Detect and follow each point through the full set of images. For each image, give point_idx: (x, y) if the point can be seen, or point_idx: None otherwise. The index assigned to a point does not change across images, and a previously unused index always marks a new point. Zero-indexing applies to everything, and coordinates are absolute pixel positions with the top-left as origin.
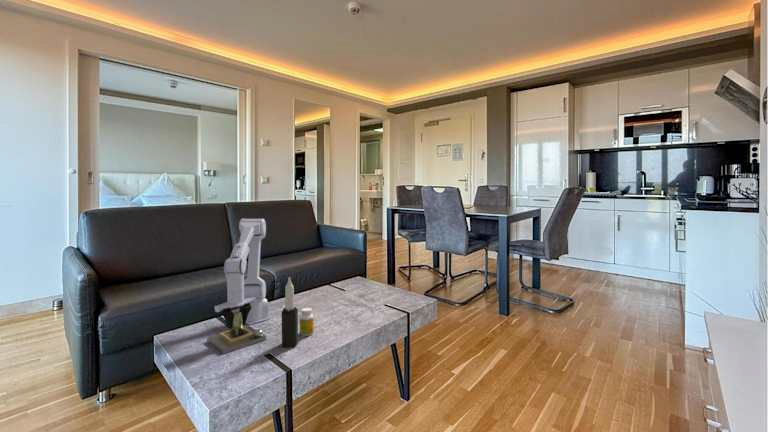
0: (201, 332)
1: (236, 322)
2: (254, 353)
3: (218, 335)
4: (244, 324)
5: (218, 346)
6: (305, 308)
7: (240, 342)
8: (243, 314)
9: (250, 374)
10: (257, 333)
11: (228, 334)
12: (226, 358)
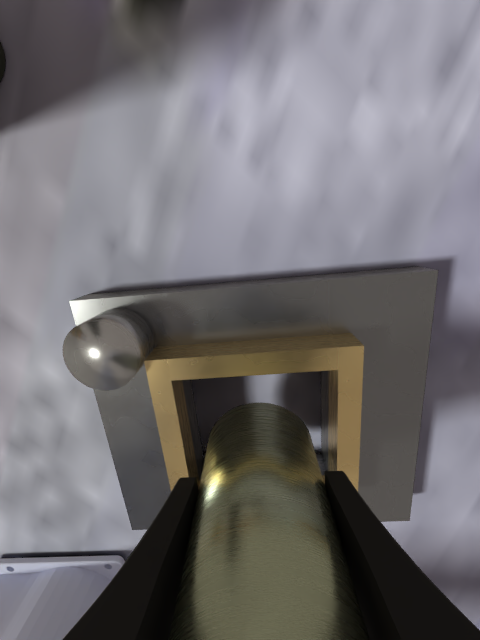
0: None
1: (293, 508)
2: (238, 106)
3: None
4: (187, 480)
5: (427, 352)
6: None
7: (275, 315)
8: (159, 634)
9: None
10: (121, 325)
11: None
12: (434, 174)
